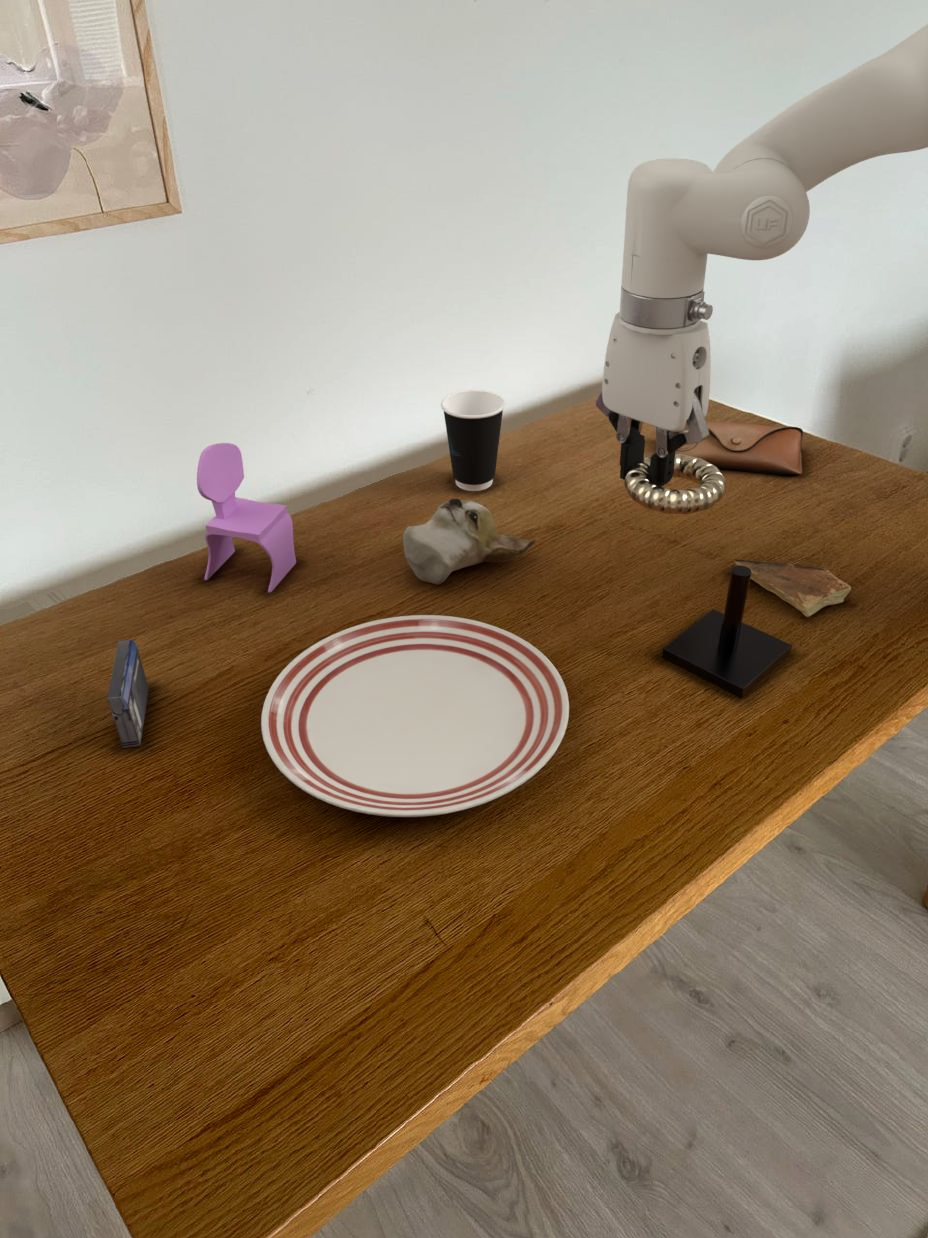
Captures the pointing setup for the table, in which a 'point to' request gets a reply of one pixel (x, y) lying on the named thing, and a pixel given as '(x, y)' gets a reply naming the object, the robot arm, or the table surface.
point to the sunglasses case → (749, 447)
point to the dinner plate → (415, 716)
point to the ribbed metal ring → (677, 499)
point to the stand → (728, 644)
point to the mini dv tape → (128, 694)
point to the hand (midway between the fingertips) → (645, 478)
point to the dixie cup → (473, 436)
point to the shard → (798, 584)
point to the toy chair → (241, 514)
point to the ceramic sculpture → (458, 541)
